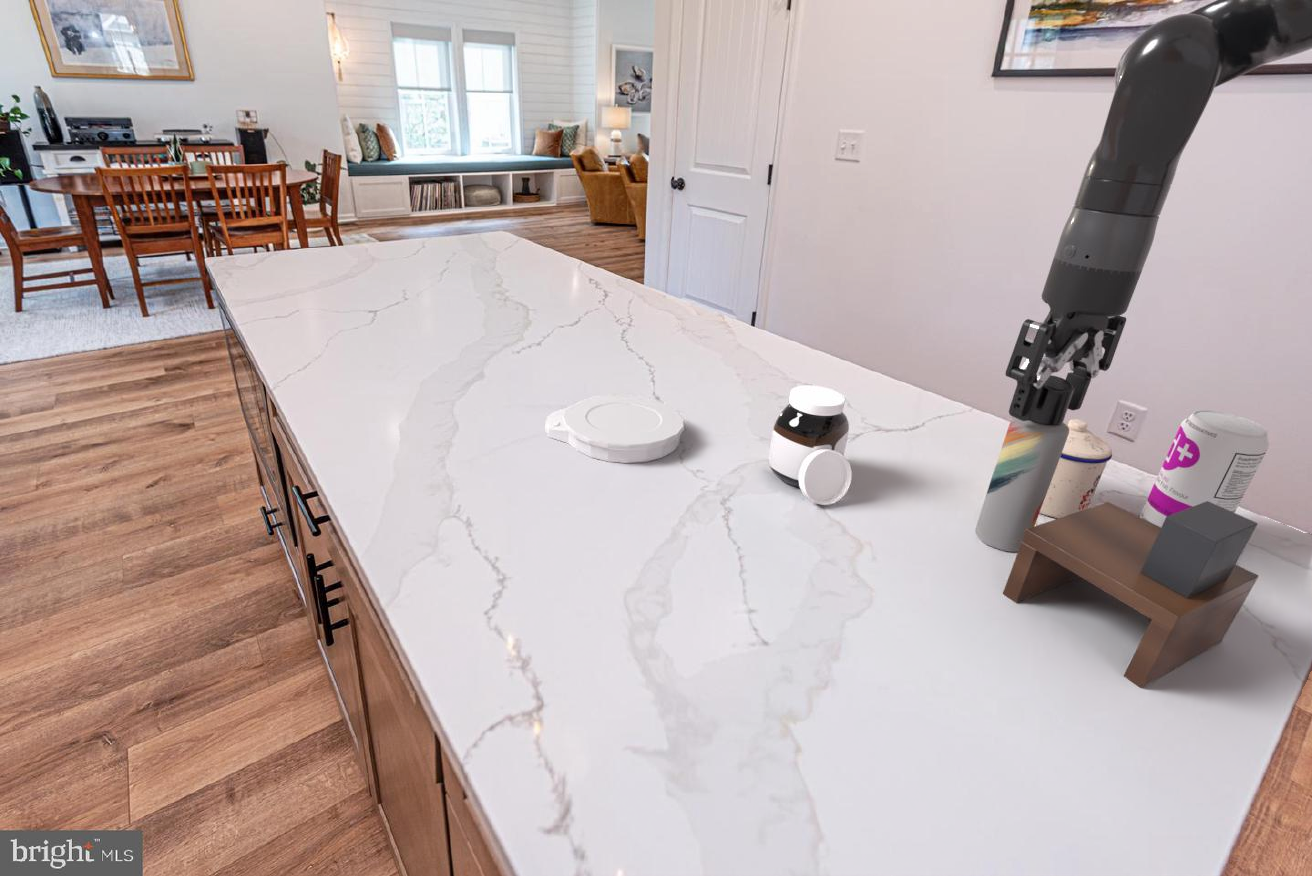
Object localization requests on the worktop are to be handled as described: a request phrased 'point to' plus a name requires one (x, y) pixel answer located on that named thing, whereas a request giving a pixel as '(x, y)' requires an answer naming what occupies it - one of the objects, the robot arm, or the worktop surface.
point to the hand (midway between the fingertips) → (1044, 412)
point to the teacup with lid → (1076, 472)
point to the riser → (1128, 584)
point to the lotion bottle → (1025, 469)
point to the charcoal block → (1197, 548)
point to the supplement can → (1207, 464)
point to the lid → (618, 428)
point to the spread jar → (812, 444)
